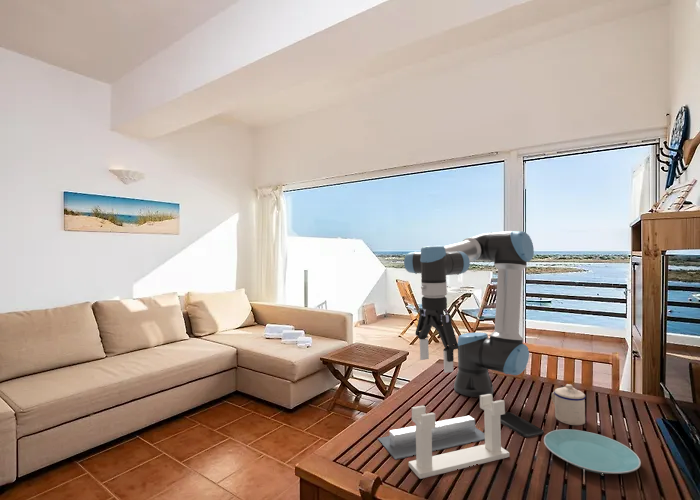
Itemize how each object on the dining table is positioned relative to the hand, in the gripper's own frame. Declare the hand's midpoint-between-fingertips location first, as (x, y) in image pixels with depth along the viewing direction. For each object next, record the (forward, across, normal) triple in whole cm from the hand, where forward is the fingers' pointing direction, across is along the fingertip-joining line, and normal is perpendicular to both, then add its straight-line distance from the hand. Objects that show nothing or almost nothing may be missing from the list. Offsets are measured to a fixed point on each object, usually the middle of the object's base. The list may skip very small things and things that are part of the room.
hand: (435, 365), depth 114 cm
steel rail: (+22, +1, -2) cm, 22 cm away
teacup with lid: (+23, +4, +47) cm, 53 cm away
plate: (+23, +24, +32) cm, 47 cm away
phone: (+23, +2, +28) cm, 37 cm away
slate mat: (+22, 0, -2) cm, 22 cm away
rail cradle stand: (+22, +14, -2) cm, 26 cm away
